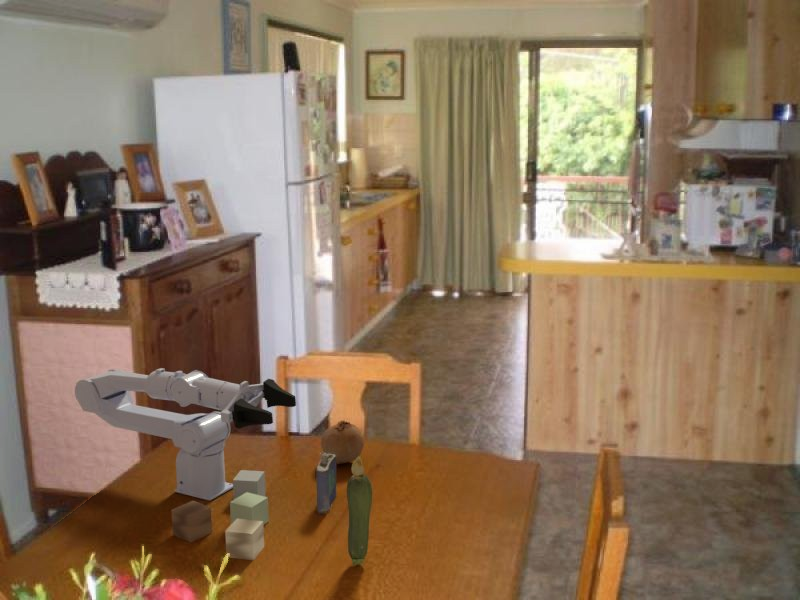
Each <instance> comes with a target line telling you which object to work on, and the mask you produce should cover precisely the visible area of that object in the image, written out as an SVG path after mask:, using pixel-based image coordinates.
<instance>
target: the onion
mask: <svg viewBox="0 0 800 600" xmlns="http://www.w3.org/2000/svg"><path fill="white" fill-rule="evenodd" d="M320 445H321V450H322V452H323V453H326V454H335V455H336V465H342V464H347V463H349V462H352V461H353V462H354V461H355V460H356V458H357V457H358V456H361V454H362V452H363V450H364V448H365V447H364V445H365V438H364V435H363V432H362V431H361V430H360V429H359V427H358V426H356V425H354V424H353V423H350V421H345V420H340V421H338V422H337V423H336V424H334V425H331V426H330V427H328V428H327V429H326V430H325V431H324V433H323V435H322V437H321V442H320Z"/></svg>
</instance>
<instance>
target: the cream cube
mask: <svg viewBox="0 0 800 600" xmlns="http://www.w3.org/2000/svg"><path fill="white" fill-rule="evenodd" d="M264 530H265V529H264V525H263V521H257V520H247V519H238V518H237V519H236V520H235V521H234V522H233V523H232V524H231V523H230V526H228V527H227V528H226V530H225V532H224V533H225V535H224V536H225V551H226V552H225V553H226V554H227V553H230V557H229V558H231V559H240V560H247V561H248V560H249V561H254V560H255V559H256V558H257V557H258V555H259V554H260V553H261V551H263V549H264V548H265V531H264Z"/></svg>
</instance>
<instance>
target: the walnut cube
mask: <svg viewBox="0 0 800 600" xmlns="http://www.w3.org/2000/svg"><path fill="white" fill-rule="evenodd" d="M170 511H171V523H172V535H173V536H175V537H177V538H179V539H182V540H183V541H186V542H188V543H190V544H191V543H193V542H195V541H197V540H199V539H202V538H203V537H206V536H208V535H209V534H212V533H213V525H212V524H213V523H212V522H213V521H212V508H211V507H210V506H208V505H206V504H203V503H201V502H197V500H191V501H189V502H187V503H184V504H182V505H179V506H177V507H175V508H172V509H171V510H170Z"/></svg>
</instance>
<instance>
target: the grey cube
mask: <svg viewBox="0 0 800 600" xmlns="http://www.w3.org/2000/svg"><path fill="white" fill-rule="evenodd" d="M232 484H233V488H232V494H233V500H234V499H236V498H238V497H239V496H241V495H243V494H244V493H246V492H248V493H252V494H256V495H260V496H264V497H266V471H261V470H246V469H241V470H239V472H237V473H236V475H235V477H234V478H233V479H232Z"/></svg>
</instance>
